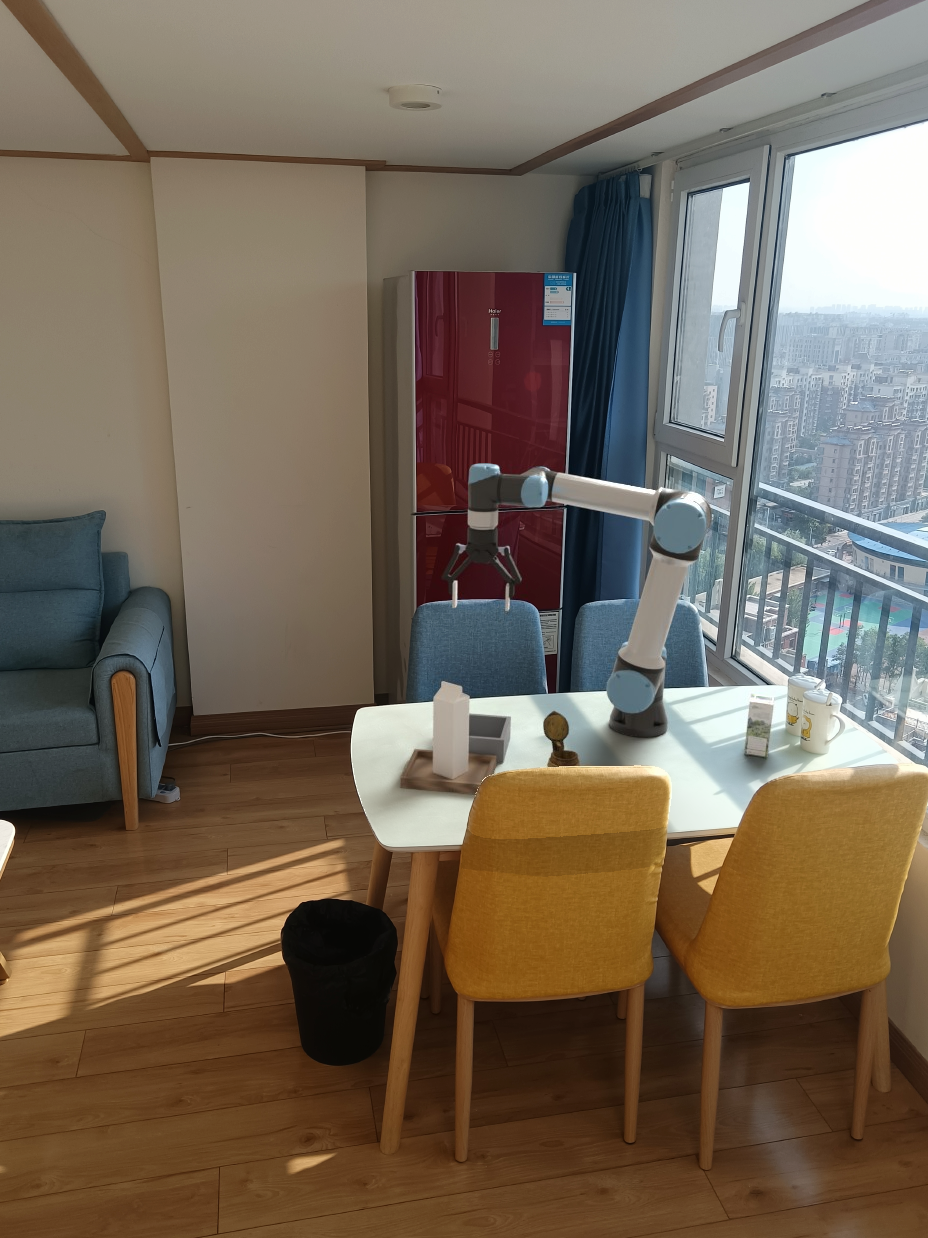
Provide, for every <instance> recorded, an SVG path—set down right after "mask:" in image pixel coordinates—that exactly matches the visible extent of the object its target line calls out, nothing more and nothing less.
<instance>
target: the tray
mask: <svg viewBox="0 0 928 1238" xmlns="http://www.w3.org/2000/svg"><path fill="white" fill-rule="evenodd" d="M496 760H497V756H495V755H483V754H470V753H468V771H467V772H465V773H464V774H462V775H460V776H458V777H457V778H455V779H453V780H452V779H450V778H447V777H444V776H441V775H438V774H435V773H433V749H420V748H414V749H413V752H412V753H411V756H410V757H409V760H408V762H407V764H406V765H405V768H404V770H403V771H402V774H401V775H400V780H399V783H400V788H401V789H411V790H422V791H423V790H424V791H435V792H442V793H443V792H444V793H456V794H468V793H469V794H468V795H476V794H475V793H476V792H477V789H478V787H479V786H480V784H481V782H482V780H483V779H484V778H485V777H487V776H489V775H492V774H494V775H495V771H496V767H497V763H496ZM470 793H472V794H470Z"/></svg>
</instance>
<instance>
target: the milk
mask: <svg viewBox="0 0 928 1238" xmlns="http://www.w3.org/2000/svg"><path fill="white" fill-rule="evenodd" d="M440 683H441V685H440V686H441V687H440V688H439V690H437V692H436V693H435V695H434V696H433V698H432V699H433V700H432V701H433V705H432V707H433V708H432V709H433V711H432V714H433V716H432V720H433V721H432V722H433V723H432V725H433V726H432V741H433V742H432V750H433V773H435V774H438V775H441V776H444V777H447V778H450V779H452V780H453V779H455V778H457V777H458V776H460V775H462V774H464V773H465V772H467V771H468V750H469V713H470V695H468V694H466V693H464V692H463V687H462V685H459V684H455V683H451V682H446V681H445V680H444V681H443V680H442V681H441V682H440Z"/></svg>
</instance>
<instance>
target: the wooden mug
mask: <svg viewBox="0 0 928 1238" xmlns="http://www.w3.org/2000/svg"><path fill="white" fill-rule="evenodd" d="M542 724H543V725H542V726H543V727H542V728H543V733H544V736H545V737H546V738H547V739H548V740H550V741H551V745H552V747H551V748H552V752H551V753H550V757H549V758H548V761H547V768H548V767H559V766H580V767H581V763H580V759H579V755H578V753H577V752H576V751H573V750H567V749H565V743H564V740H565V739H566V738H567V737H568V735H569V734H570V726H569V725H570V724H569V721H568V720H567V718H566V717H565V716H564V715H563V714H561V713H560V712H558V711H555V710H553V711H551V712H550V713H549V714H548V715H547V716H546V717H545V718H544V719H543V723H542Z"/></svg>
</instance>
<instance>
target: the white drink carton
mask: <svg viewBox="0 0 928 1238" xmlns="http://www.w3.org/2000/svg"><path fill="white" fill-rule="evenodd" d="M774 703H775V697H774V696H769V695H761V694H753V693H751V694H750V699H749V706H748V714H747V715H748V716H747V722H746V724H747V725H746V730H745V731H746V733H745V740H744V751H743V752H744V753H743V754H744V755H746V756H752V757H753V756H754V757H760V758H768V756H769V755H768V754H769V748H770V747H769V746H770V741H771V740H770V738H771V729H772V723H773V722H772V721H773V716H774V715H773V713H774V708H775V707H774Z"/></svg>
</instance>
